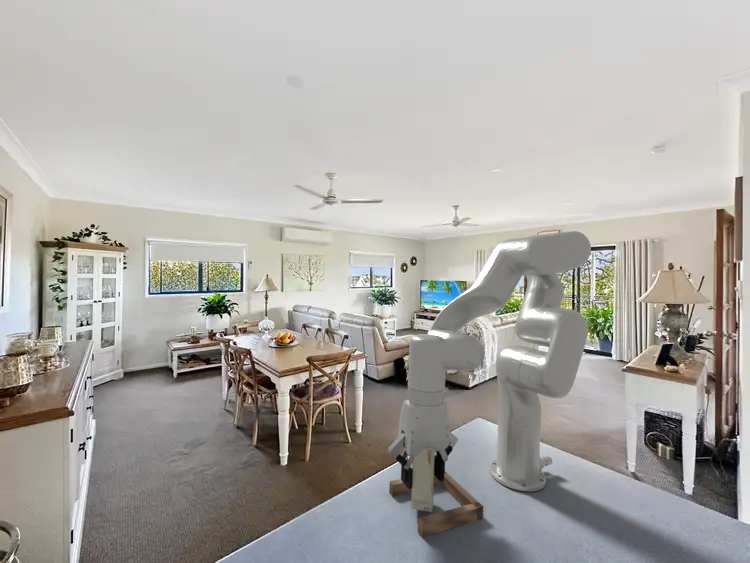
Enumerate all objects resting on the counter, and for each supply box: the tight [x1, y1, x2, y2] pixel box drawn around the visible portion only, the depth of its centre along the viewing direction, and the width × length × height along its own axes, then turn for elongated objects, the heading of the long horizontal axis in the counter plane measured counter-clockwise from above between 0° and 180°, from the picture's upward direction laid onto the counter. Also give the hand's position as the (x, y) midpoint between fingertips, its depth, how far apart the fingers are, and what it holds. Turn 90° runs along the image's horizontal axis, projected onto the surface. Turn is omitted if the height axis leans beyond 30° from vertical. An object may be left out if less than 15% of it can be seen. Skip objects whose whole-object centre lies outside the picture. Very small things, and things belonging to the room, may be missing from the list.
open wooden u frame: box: [388, 471, 484, 538], centre depth 72 cm, size 14×14×2 cm
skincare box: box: [410, 447, 436, 513], centre depth 71 cm, size 6×4×12 cm
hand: (423, 480), depth 71 cm, fingers closed on skincare box, 6 cm apart
